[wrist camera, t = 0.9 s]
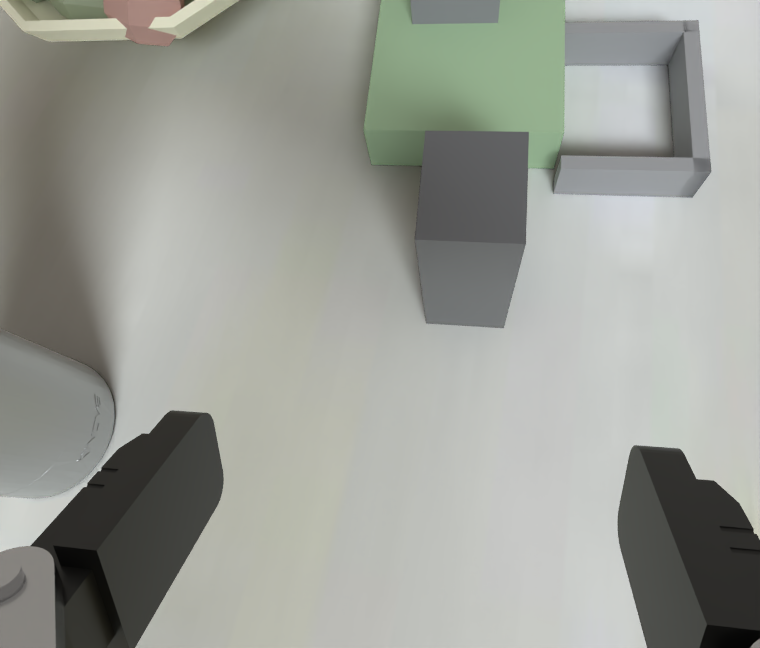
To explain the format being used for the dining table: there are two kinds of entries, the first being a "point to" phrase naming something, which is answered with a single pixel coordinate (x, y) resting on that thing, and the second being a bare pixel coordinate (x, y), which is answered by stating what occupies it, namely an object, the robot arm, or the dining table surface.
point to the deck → (528, 87)
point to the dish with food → (112, 19)
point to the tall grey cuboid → (471, 224)
